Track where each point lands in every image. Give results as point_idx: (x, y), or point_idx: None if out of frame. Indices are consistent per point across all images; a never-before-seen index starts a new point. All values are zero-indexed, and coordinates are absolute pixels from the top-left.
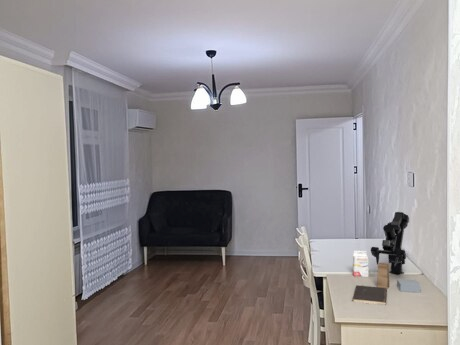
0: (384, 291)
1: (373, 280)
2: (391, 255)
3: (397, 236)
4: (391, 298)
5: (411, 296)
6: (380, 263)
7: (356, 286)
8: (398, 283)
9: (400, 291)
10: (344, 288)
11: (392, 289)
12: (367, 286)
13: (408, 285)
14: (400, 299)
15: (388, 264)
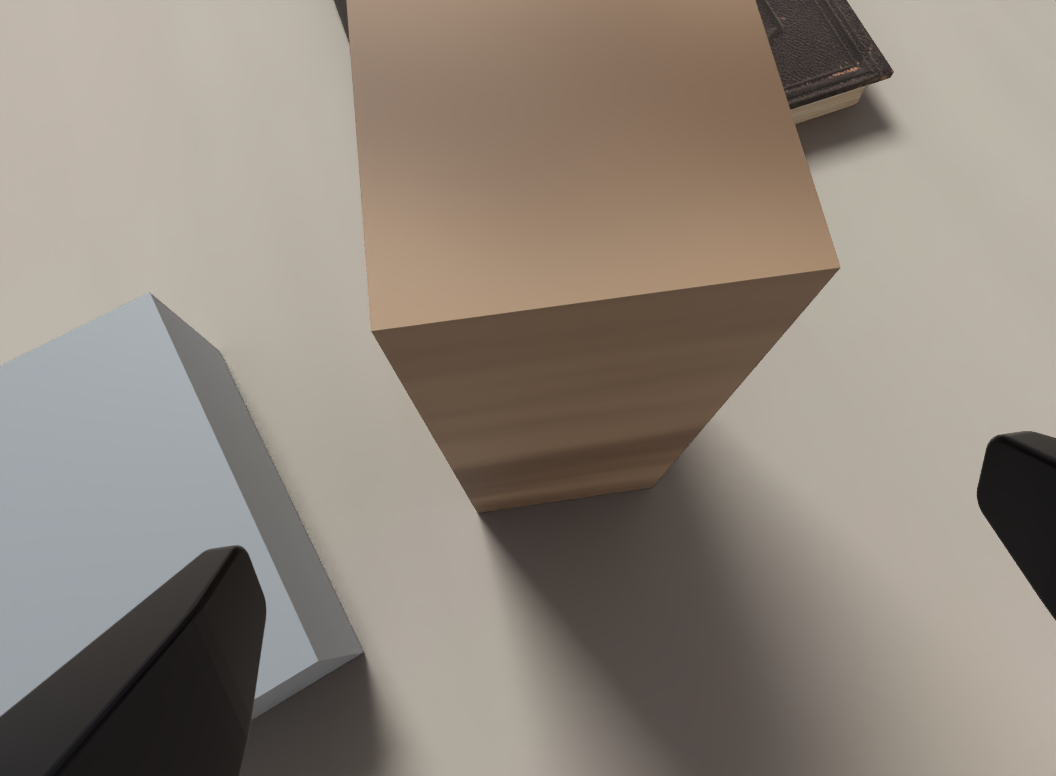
0: None
1: (935, 768)
2: None
3: None
4: (266, 4)
5: (21, 230)
6: (736, 121)
7: (853, 22)
8: (259, 496)
9: (220, 354)
10: (991, 11)
11: (374, 391)
12: None
13: (7, 376)
14: (149, 33)
15: (362, 166)
